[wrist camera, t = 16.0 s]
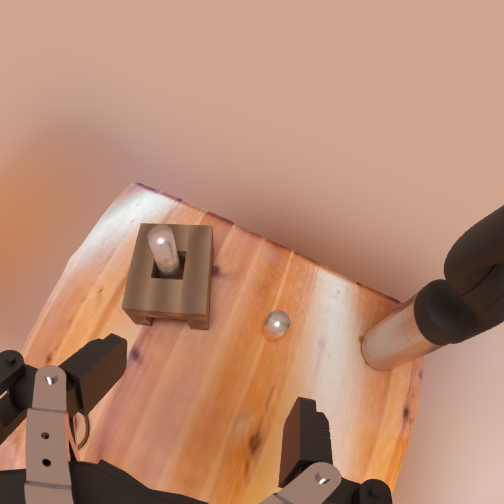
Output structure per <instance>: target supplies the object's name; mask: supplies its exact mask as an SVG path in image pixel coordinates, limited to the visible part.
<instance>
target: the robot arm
mask: <svg viewBox="0 0 504 504" xmlns="http://www.w3.org/2000/svg"><path fill="white" fill-rule="evenodd" d="M444 275H445V278H446V280H442V279H439V280H435V281H432V282H430V283H429V284H427V285H426V286H425V287H424V288H422V289H421V290H420V291H419V292H418V293H416V294H415V295H414V296H413V297H411V298H410V299H409V300H408V301H406V302H405V303H404V304H403V305H401V306H400V307H399V308H397V309H396V310H395V311H393V312H392V313H391V314H389V315H388V316H387V317H385V318H384V319H383V320H381V321H380V322H378V323H377V324H376V325H374V326H373V327H371V328H370V329H369V330H368V331H367V332H366V333H365V335H364V337H363V339H362V344H361V350H362V355H363V357H364V360H365V361H366V362H367V364H368V365H369V366H370V367H372V368H373V369H375V370H378V371H387V370H390V369H392V368H395V367H398V366H400V365H403V364H405V363H408V362H410V361H413V360H415V359H417V358H420V357H422V356H424V355H426V354H428V353H431V352H433V351H435V350H437V349H439V348H441V347H443V346H445V345H447V344H450V343H451V344H455V343H460V342H462V341H465V340H467V339H469V338H471V337H474V336H476V335H478V334H480V333H482V332H485V331H486V330H489V329H491V328H493V327H495V326H497V325H499V324H500V323H502V322H503V321H504V205H503V206H502V207H500V208H499V209H498V210H496V211H494V212H493V213H491V214H490V215H488V216H487V217H485V218H484V219H482V220H481V221H479V222H478V223H476V224H475V225H474V226H473V227H471V228H470V229H469V230H467V231H466V232H465V233H464V234H463V235H462V236H461V237H460V238H459V239H458V240H457V241H456V243H455V244H454V245H453V246H452V248H451V250H450V251H449V253H448V255H447V257H446V260H445V263H444ZM126 363H127V340H126V339H124V338H121V337H119V336H117V335H115V334H113V333H111V334H110V335H108V336H107V337H106V338H105V339H103V340H102V339H100V338H99V339H96V340H93V341H90V342H89V343H87V344H86V345H85V346H84V347H83V348H81V349H80V350H78V352H76V353H75V354H73V355H72V356H71V357H69V358H68V359H67V360H66V361H64V362H63V363H62V364H61V365H59V366H58V367H57V366H53V365H46V366H43V367H41V368H39V369H37V368H34V367H32V366H29V365H26V364H24V359H23V356H22V355H21V354H20V353H19V352H17V351H14V350H6V351H3V352H1V353H0V395H2V394H3V393H4V392H5V391H6V390H7V393H6V394H5V395H4V396H3V397H2V398H1V399H0V445H1V444H2V443H3V442H4V441H5V440H6V438H7V437H8V436H9V435H10V434H11V433H12V432H13V431H14V430H15V429H16V428H17V427H18V426H19V424H20V423H21V422H22V421H23V420H24V419H25V418H26V417H27V422H26V469H17V470H4V471H0V504H208V503H207V502H203V501H200V500H196V499H193V498H190V497H187V496H184V495H181V494H175V493H168V492H163V491H157V490H152V489H149V488H147V487H146V486H144V485H143V484H142V483H140V482H139V481H137V480H136V479H135V478H133V477H132V476H131V475H129V474H128V473H127V472H125V471H123V470H121V469H119V468H117V467H115V466H113V465H111V464H109V463H108V462H106V461H104V460H102V459H101V460H100V462H99V463H98V464H95V463H90V462H83V461H80V457H79V453H78V447H77V439H76V429H75V418H74V415H75V414H76V413H77V412H79V413H81V414H82V415H84V416H87V415H88V413H89V412H90V411H91V410H92V409H93V408H94V407H95V406H96V405H97V403H98V402H99V401H100V400H101V399H102V398H103V397H104V396H105V395H106V393H107V392H108V391H109V390H110V389H111V388H112V387H113V386H114V385H115V383H116V382H117V381H118V380H119V379H120V378H121V377H122V376H123V374H124V372H125V369H126ZM278 487H280V488H283V489H282V490H280V491H279V492H278V493H274V494H272V495H271V496H269V497H268V498H266V499H265V500H264V501H262V502H261V503H259V504H392V498H391V491H390V488H389V487H388V485H387V484H386V483H384V482H383V481H381V480H377V479H369V480H366V481H365V482H363V483H362V484H359V483H356V482H353V481H350V480H347V479H345V478H343V477H341V474H340V472H339V470H338V469H337V468H336V467H334V466H333V460H332V449H331V439H330V432H329V421H328V420H327V418H326V416H325V415H324V413H322V412H316V402H315V400H312V399H307V398H302V397H298V398H297V400H296V402H295V404H294V406H293V408H292V410H291V412H290V414H289V415H288V417H287V419H286V422H285V425H284V429H283V440H282V453H281V464H280V475H279V485H278Z"/></svg>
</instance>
